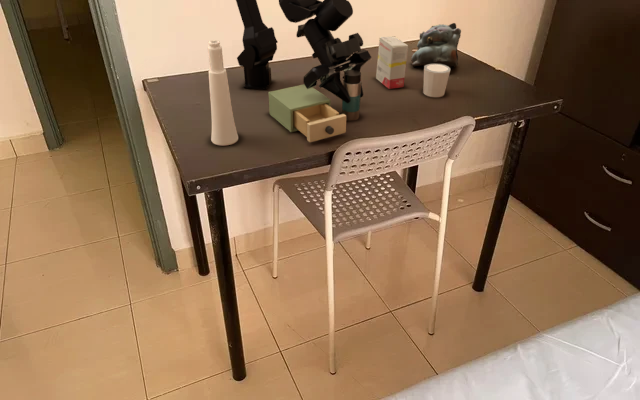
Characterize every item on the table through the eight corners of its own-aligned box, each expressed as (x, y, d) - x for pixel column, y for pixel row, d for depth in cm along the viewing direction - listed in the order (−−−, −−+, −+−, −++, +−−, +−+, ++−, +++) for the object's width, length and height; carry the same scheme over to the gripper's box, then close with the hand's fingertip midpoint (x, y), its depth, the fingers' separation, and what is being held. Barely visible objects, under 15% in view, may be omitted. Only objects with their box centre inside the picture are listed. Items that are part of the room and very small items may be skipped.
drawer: (348, 134, 114) (349, 117, 112) (312, 144, 110) (312, 127, 108) (322, 115, 122) (322, 99, 120) (287, 124, 118) (287, 107, 116)
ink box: (404, 87, 139) (409, 44, 132) (388, 89, 138) (392, 46, 131) (391, 76, 146) (394, 35, 139) (375, 78, 144) (378, 36, 137)
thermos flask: (343, 121, 122) (344, 76, 115) (340, 113, 125) (342, 69, 119) (360, 120, 122) (363, 75, 116) (357, 112, 126) (360, 69, 119)
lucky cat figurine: (401, 65, 152) (407, 18, 151) (425, 72, 160) (431, 28, 159) (443, 64, 141) (450, 13, 140) (466, 72, 150) (473, 23, 148)
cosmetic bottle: (238, 132, 116) (229, 36, 104) (238, 145, 111) (228, 46, 99) (212, 133, 116) (199, 37, 103) (210, 146, 111) (197, 47, 98)
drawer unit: (330, 122, 121) (330, 99, 118) (291, 132, 117) (290, 109, 113) (307, 105, 129) (307, 83, 126) (269, 114, 124) (268, 92, 121)
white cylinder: (449, 90, 137) (453, 65, 133) (443, 100, 132) (447, 74, 128) (424, 86, 140) (427, 61, 136) (417, 95, 135) (420, 69, 131)
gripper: (311, 31, 108) (348, 95, 108) (367, 15, 119) (401, 72, 119) (287, 58, 117) (321, 117, 117) (341, 41, 128) (372, 94, 128)
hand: (355, 99), depth 120 cm, fingers closed on thermos flask, 4 cm apart
